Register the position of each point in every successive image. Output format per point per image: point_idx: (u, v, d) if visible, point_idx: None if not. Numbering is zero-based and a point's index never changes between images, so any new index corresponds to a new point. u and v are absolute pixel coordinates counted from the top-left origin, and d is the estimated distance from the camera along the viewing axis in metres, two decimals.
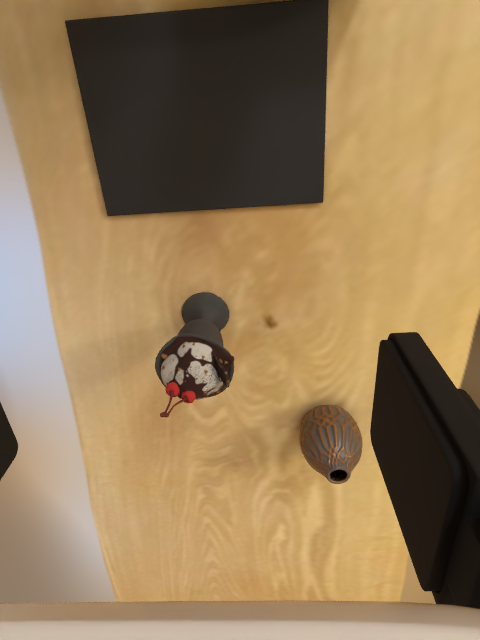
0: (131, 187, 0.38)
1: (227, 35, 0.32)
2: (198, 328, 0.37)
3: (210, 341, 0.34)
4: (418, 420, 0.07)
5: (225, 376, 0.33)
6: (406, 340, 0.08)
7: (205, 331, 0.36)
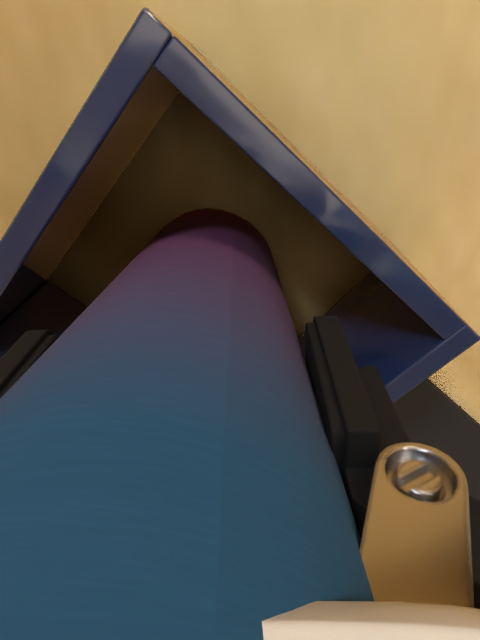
0: None
1: None
2: None
3: None
4: (319, 390, 0.08)
5: None
6: (324, 322, 0.09)
7: None
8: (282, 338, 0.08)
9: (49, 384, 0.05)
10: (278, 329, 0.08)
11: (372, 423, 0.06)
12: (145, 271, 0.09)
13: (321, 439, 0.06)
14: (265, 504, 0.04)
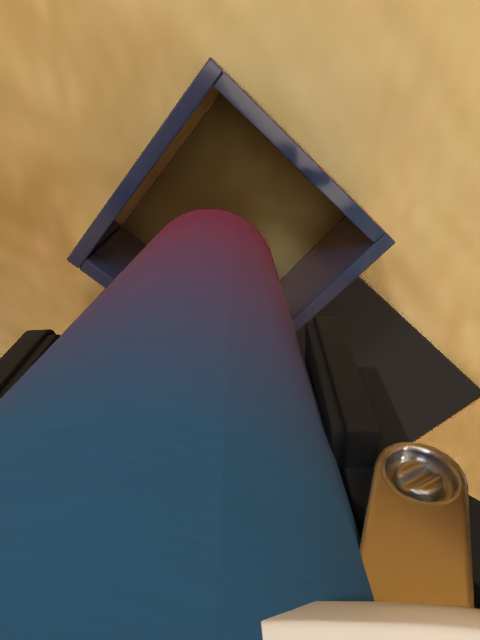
0: None
1: None
2: None
3: None
4: (319, 390, 0.08)
5: None
6: (324, 322, 0.09)
7: None
8: (282, 338, 0.08)
9: (50, 384, 0.05)
10: (278, 329, 0.08)
11: (372, 424, 0.06)
12: (145, 271, 0.09)
13: (321, 438, 0.06)
14: (265, 502, 0.04)
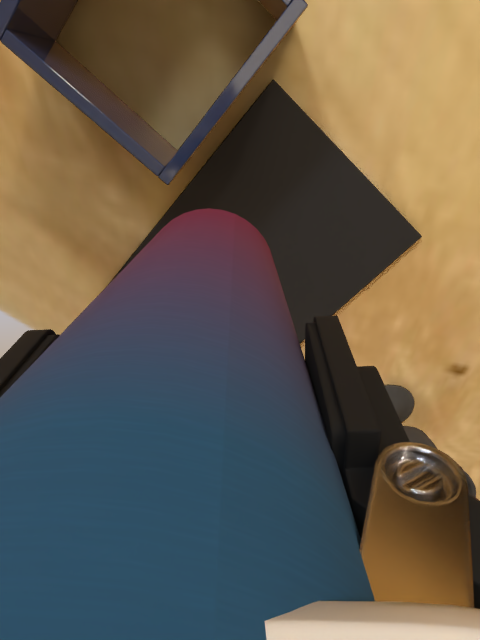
0: None
1: (216, 193, 0.29)
2: None
3: None
4: (319, 390, 0.08)
5: None
6: (324, 322, 0.09)
7: None
8: (282, 337, 0.08)
9: (48, 383, 0.05)
10: (278, 328, 0.08)
11: (372, 424, 0.06)
12: (145, 270, 0.09)
13: (321, 439, 0.06)
14: (264, 503, 0.04)
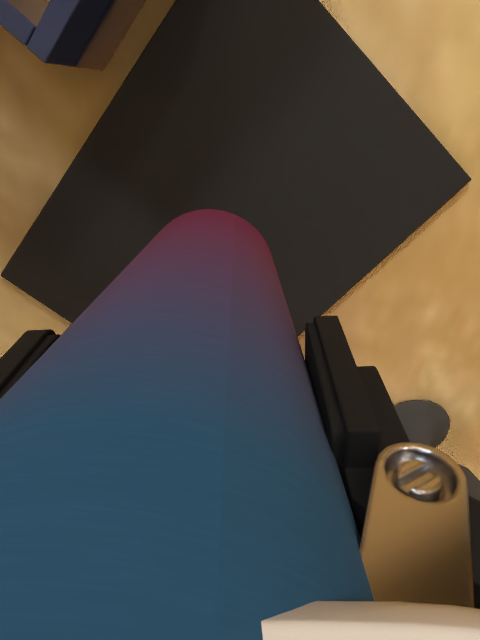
0: None
1: (156, 112, 0.19)
2: None
3: None
4: (319, 390, 0.08)
5: None
6: (324, 322, 0.09)
7: None
8: (282, 338, 0.08)
9: (48, 385, 0.05)
10: (278, 329, 0.08)
11: (372, 424, 0.06)
12: (145, 271, 0.09)
13: (321, 440, 0.06)
14: (265, 506, 0.04)
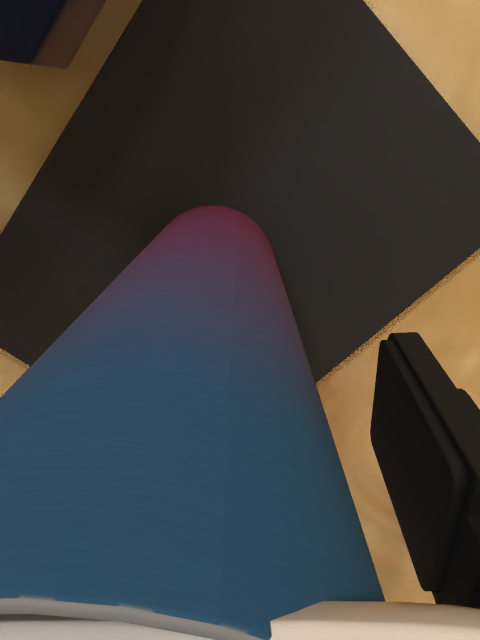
0: None
1: (135, 121, 0.15)
2: None
3: None
4: (418, 420, 0.07)
5: None
6: (406, 340, 0.08)
7: None
8: (281, 320, 0.09)
9: (74, 352, 0.06)
10: (277, 313, 0.09)
11: None
12: (154, 260, 0.10)
13: (316, 406, 0.07)
14: (265, 446, 0.05)
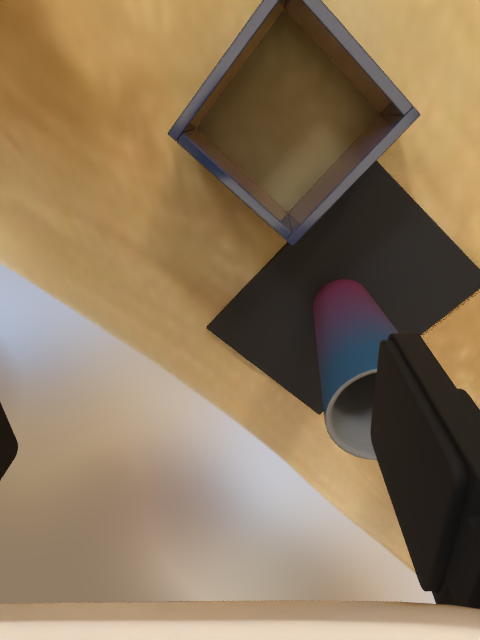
0: None
1: (315, 245, 0.35)
2: None
3: None
4: (418, 420, 0.07)
5: None
6: (406, 340, 0.08)
7: None
8: (398, 332, 0.29)
9: (360, 339, 0.26)
10: None
11: None
12: (351, 311, 0.30)
13: None
14: None
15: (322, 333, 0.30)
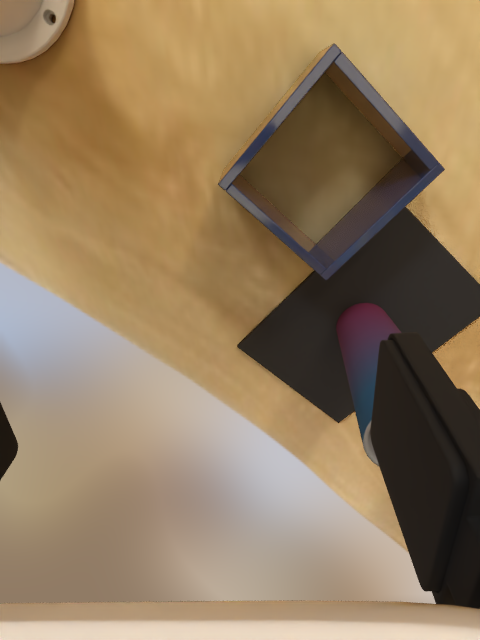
0: (342, 397, 0.45)
1: (340, 273, 0.38)
2: None
3: None
4: (418, 420, 0.07)
5: None
6: (406, 340, 0.08)
7: None
8: None
9: None
10: None
11: None
12: (378, 338, 0.33)
13: None
14: None
15: (352, 357, 0.34)
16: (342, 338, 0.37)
